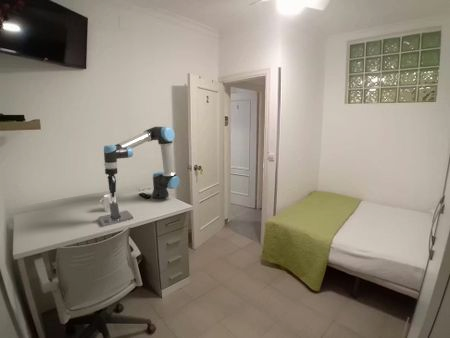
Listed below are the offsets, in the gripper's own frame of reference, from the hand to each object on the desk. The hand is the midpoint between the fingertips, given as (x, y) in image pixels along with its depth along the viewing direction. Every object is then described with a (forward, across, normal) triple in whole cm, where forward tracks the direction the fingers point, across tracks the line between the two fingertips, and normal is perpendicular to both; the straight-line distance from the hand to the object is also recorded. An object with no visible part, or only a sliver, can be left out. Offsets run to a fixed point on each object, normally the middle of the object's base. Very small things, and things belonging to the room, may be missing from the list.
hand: (112, 200), depth 162 cm
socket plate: (+14, 0, +1) cm, 14 cm away
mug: (+14, -21, +1) cm, 25 cm away
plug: (+14, 0, +1) cm, 14 cm away
